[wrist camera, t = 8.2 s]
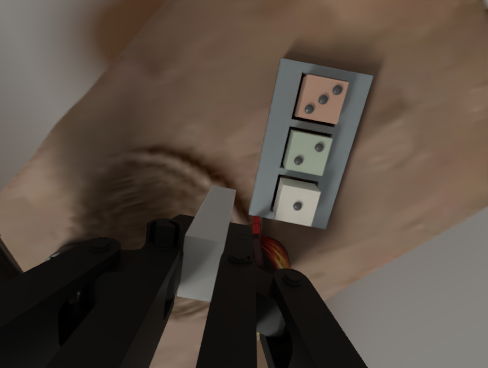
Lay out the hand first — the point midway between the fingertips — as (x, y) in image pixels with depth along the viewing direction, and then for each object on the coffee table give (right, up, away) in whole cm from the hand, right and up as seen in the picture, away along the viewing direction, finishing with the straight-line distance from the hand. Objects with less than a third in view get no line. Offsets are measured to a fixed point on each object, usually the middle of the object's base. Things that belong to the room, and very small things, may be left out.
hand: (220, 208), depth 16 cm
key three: (+12, +14, +22) cm, 29 cm away
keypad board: (+11, +7, +25) cm, 28 cm away
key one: (+9, 0, +25) cm, 27 cm away
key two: (+11, +7, +24) cm, 28 cm away
